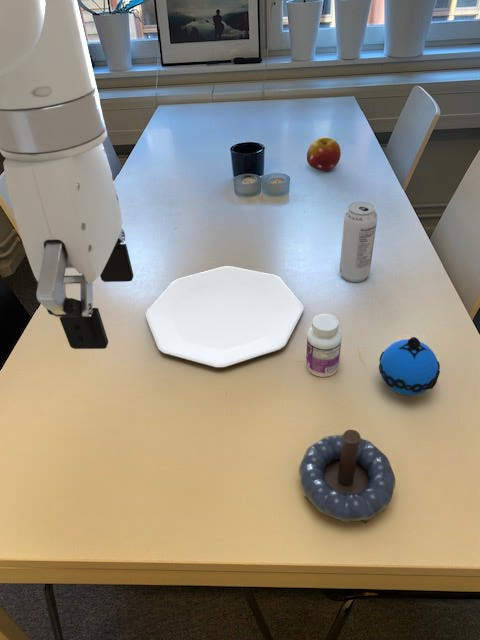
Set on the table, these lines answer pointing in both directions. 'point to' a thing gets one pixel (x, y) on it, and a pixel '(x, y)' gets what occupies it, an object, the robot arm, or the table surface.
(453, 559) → the table surface
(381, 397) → the table surface
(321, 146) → the fruit
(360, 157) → the table surface
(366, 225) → the energy drink can
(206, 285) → the plate
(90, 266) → the robot arm
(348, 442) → the stand
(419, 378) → the ornament
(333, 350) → the pill bottle
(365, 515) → the ring
